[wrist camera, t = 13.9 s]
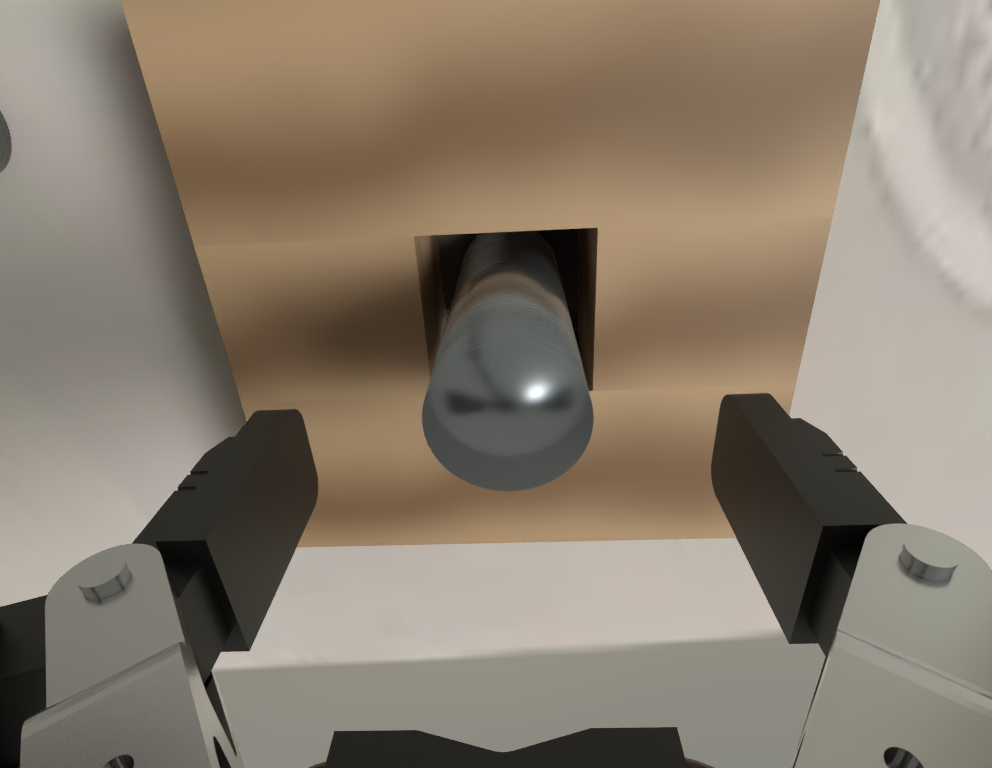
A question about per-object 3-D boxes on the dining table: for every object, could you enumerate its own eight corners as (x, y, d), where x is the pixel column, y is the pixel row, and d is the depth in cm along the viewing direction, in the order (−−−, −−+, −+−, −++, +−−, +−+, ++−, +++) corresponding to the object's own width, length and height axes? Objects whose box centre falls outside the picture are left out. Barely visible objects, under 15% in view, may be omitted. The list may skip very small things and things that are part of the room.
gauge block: (211, 3, 18) (112, -24, 13) (797, -36, 17) (897, -78, 13) (322, 469, 26) (284, 547, 22) (718, 458, 25) (762, 537, 21)
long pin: (458, 225, 21) (412, 347, 11) (556, 221, 21) (596, 341, 11) (466, 317, 23) (431, 493, 13) (556, 313, 22) (591, 488, 13)
